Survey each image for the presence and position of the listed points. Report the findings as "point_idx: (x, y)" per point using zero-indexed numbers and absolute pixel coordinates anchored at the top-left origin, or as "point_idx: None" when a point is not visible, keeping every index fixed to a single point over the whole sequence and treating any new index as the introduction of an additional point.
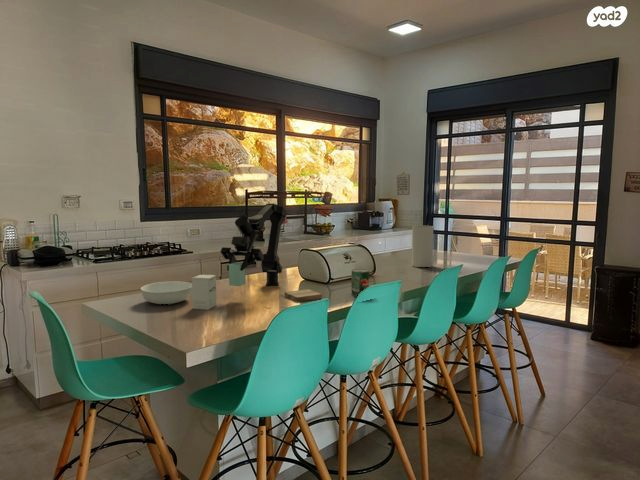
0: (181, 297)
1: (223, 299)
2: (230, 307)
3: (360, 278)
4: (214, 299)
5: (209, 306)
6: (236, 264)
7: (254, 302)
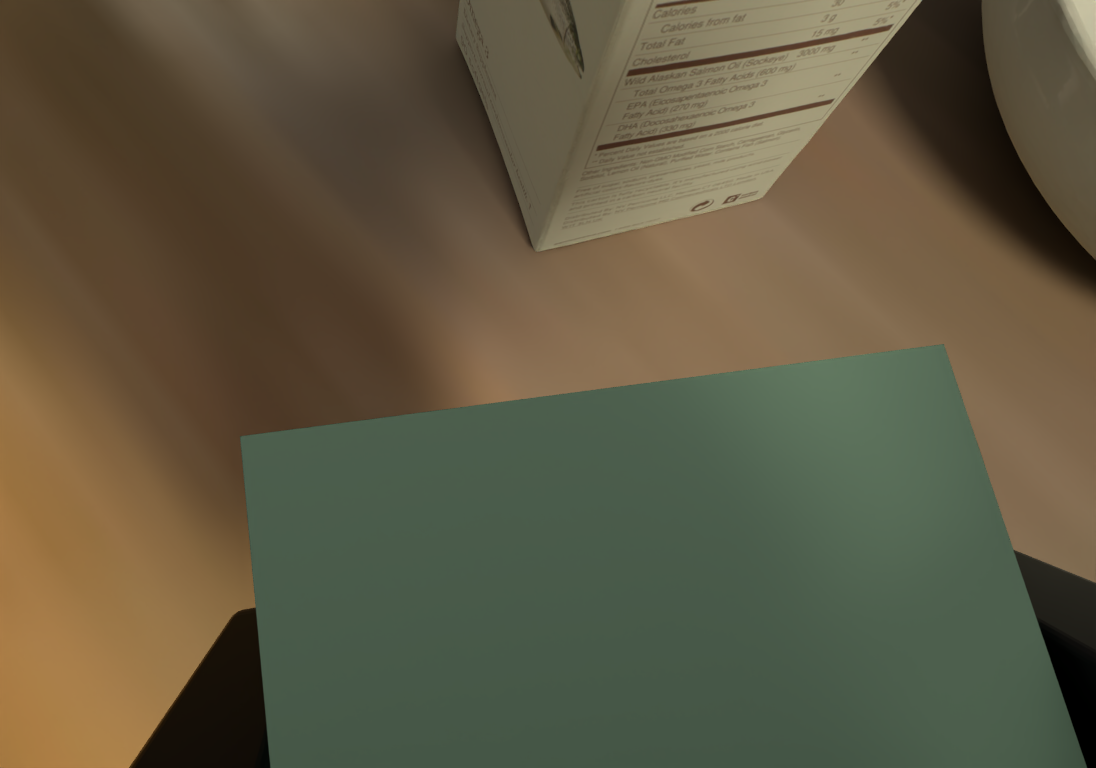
0: (983, 7)
1: None
2: (254, 245)
3: None
4: (523, 128)
5: (460, 19)
6: (551, 534)
7: (35, 721)
